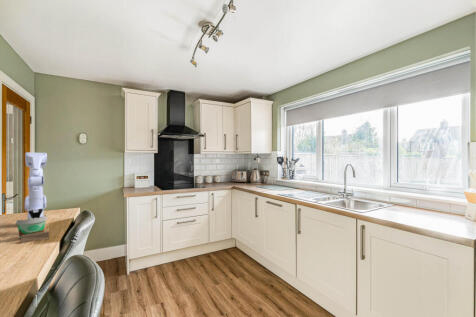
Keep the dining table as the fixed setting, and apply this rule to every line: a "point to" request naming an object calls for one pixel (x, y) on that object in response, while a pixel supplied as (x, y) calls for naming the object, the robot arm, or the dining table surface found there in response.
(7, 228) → the dining table surface
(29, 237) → the walnut bar
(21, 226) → the food container
